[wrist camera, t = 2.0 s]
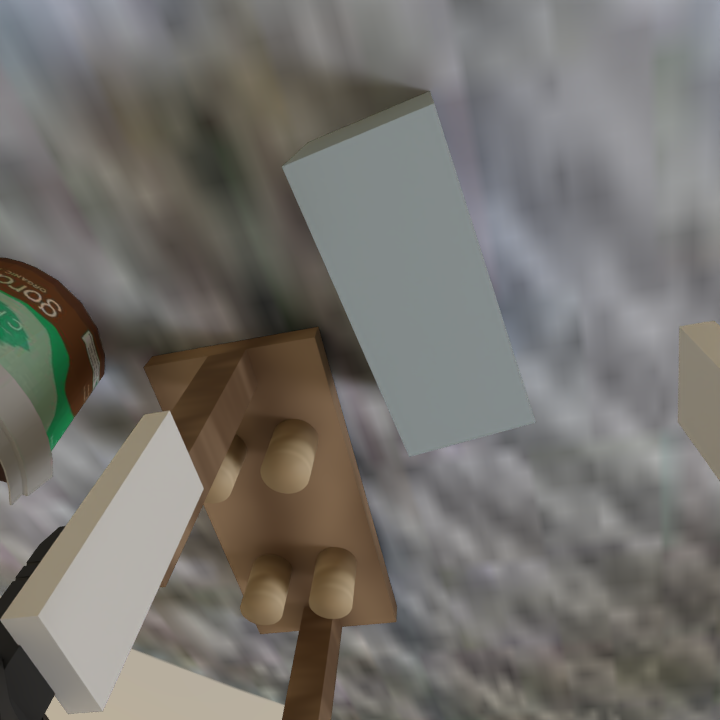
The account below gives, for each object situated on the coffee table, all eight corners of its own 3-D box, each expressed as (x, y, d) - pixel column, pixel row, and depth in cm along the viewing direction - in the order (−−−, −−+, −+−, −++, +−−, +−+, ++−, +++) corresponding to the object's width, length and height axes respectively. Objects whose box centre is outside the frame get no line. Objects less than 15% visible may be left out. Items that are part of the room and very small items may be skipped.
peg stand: (318, 326, 30) (251, 526, 17) (396, 606, 38) (389, 871, 26) (152, 356, 31) (-18, 558, 19) (264, 618, 40) (197, 874, 28)
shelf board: (429, 90, 25) (434, 103, 19) (514, 355, 30) (535, 422, 25) (308, 141, 26) (281, 166, 21) (409, 387, 31) (409, 456, 26)
